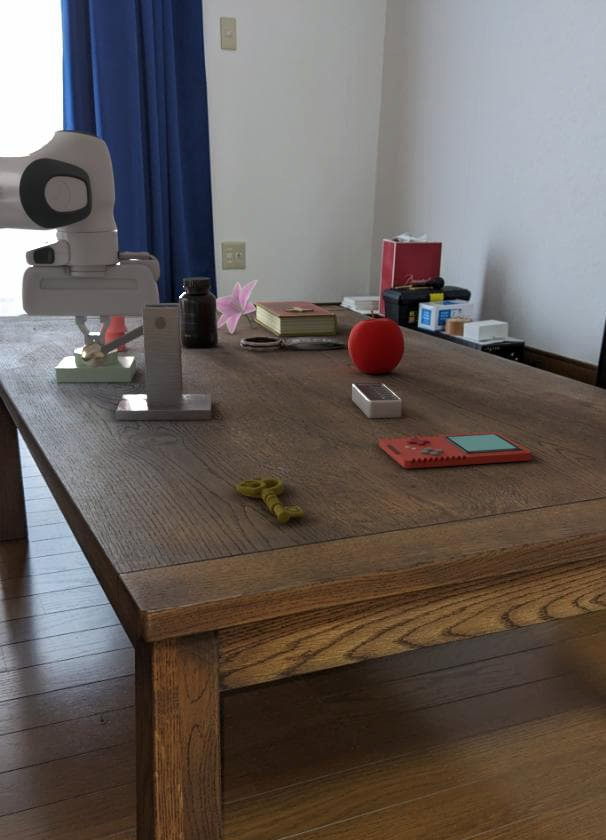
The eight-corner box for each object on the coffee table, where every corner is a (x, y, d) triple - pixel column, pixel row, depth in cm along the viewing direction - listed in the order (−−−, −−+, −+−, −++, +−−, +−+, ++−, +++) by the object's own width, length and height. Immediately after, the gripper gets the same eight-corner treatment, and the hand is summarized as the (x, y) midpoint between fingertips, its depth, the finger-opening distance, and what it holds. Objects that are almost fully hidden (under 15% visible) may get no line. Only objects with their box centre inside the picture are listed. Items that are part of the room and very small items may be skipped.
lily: (214, 329, 190) (197, 290, 183) (265, 306, 190) (249, 266, 183) (227, 356, 181) (210, 317, 174) (280, 332, 181) (265, 292, 175)
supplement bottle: (197, 340, 170) (195, 275, 166) (225, 344, 167) (224, 277, 162) (173, 345, 165) (170, 278, 161) (200, 350, 162) (198, 281, 157)
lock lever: (87, 374, 115) (74, 352, 114) (91, 369, 118) (78, 347, 117) (176, 328, 114) (164, 305, 113) (177, 324, 117) (165, 301, 116)
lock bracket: (116, 420, 115) (109, 310, 110) (124, 403, 123) (117, 301, 118) (210, 419, 116) (207, 310, 111) (211, 403, 124) (208, 301, 119)
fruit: (351, 365, 150) (353, 304, 146) (405, 368, 149) (409, 306, 145) (342, 376, 142) (344, 311, 138) (399, 379, 140) (403, 314, 136)
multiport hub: (368, 418, 117) (369, 401, 117) (351, 399, 127) (351, 382, 127) (401, 417, 118) (402, 400, 117) (381, 398, 128) (382, 382, 127)
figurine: (120, 352, 158) (114, 264, 153) (94, 350, 160) (88, 263, 154) (134, 348, 163) (129, 261, 157) (109, 346, 164) (103, 260, 159)
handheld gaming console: (378, 436, 105) (496, 429, 108) (378, 446, 105) (496, 439, 109) (405, 459, 97) (532, 450, 100) (405, 469, 97) (531, 461, 101)
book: (307, 318, 198) (307, 299, 196) (336, 334, 179) (337, 312, 178) (254, 320, 195) (254, 300, 193) (278, 336, 176) (278, 314, 174)
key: (307, 509, 81) (253, 513, 80) (307, 522, 82) (253, 527, 80) (278, 472, 92) (230, 475, 91) (278, 484, 92) (230, 487, 91)
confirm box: (56, 382, 135) (54, 356, 134) (66, 370, 144) (64, 345, 142) (130, 382, 136) (128, 355, 135) (136, 370, 145) (134, 345, 143)
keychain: (347, 350, 162) (347, 339, 162) (242, 352, 160) (242, 341, 159) (338, 343, 170) (339, 332, 169) (238, 345, 167) (237, 334, 166)
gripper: (160, 250, 137) (165, 341, 142) (24, 249, 135) (33, 341, 140) (157, 253, 131) (161, 349, 136) (14, 252, 129) (24, 349, 135)
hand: (95, 345), depth 138 cm, fingers closed, pressing on confirm button
